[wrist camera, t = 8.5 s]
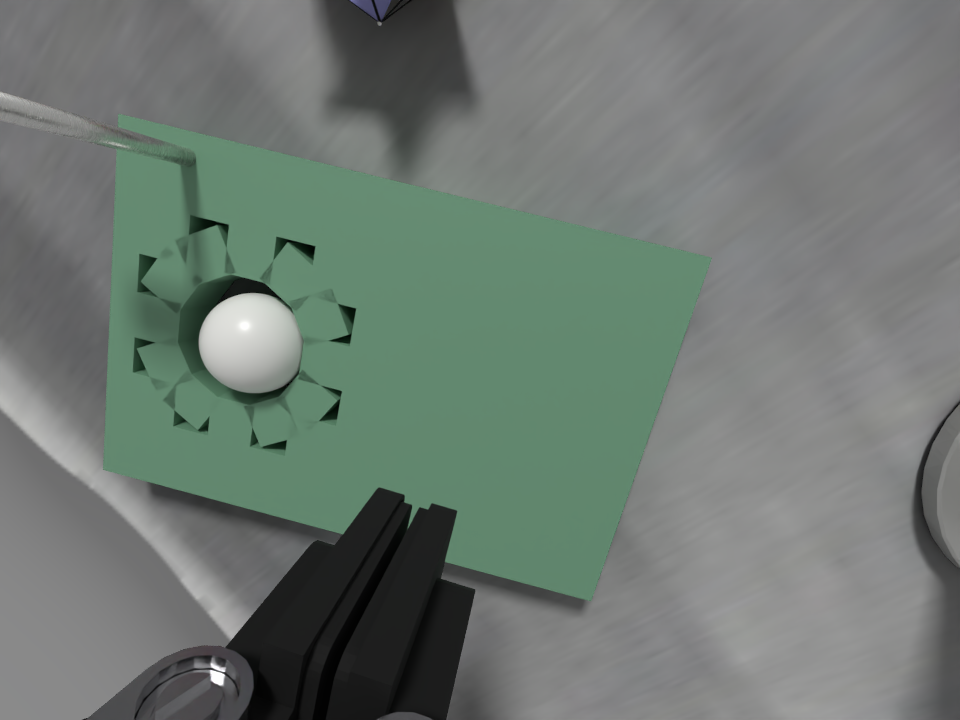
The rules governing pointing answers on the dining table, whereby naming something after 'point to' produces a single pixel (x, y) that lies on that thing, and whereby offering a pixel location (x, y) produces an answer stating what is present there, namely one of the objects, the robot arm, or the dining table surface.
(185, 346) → the green flat slab
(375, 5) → the geometric puzzle
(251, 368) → the ball
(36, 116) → the flag pin
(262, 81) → the dining table surface
